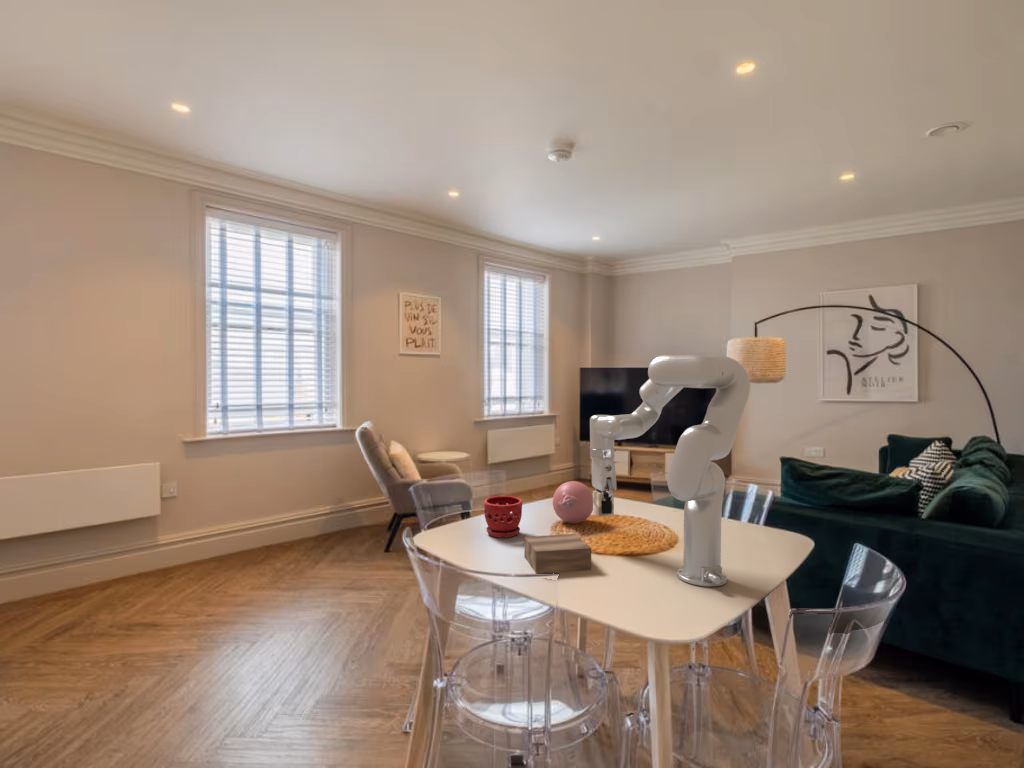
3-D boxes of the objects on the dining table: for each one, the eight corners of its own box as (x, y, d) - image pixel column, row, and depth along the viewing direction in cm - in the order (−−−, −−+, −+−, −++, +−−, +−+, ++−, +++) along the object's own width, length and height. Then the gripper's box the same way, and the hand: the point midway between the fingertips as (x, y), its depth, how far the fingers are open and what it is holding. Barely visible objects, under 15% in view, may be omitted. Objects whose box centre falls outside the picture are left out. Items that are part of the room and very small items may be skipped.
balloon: (540, 527, 192) (540, 485, 192) (561, 515, 209) (562, 476, 209) (580, 534, 185) (581, 489, 184) (599, 520, 202) (599, 480, 202)
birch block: (613, 515, 167) (613, 493, 167) (598, 516, 166) (598, 493, 166) (607, 511, 172) (607, 490, 172) (593, 512, 171) (592, 490, 171)
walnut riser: (591, 569, 150) (591, 548, 150) (535, 573, 147) (536, 551, 147) (575, 553, 164) (575, 533, 164) (524, 556, 161) (524, 536, 160)
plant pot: (478, 531, 187) (478, 497, 187) (512, 527, 192) (512, 494, 192) (492, 542, 175) (492, 505, 175) (528, 537, 180) (528, 501, 180)
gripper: (624, 456, 162) (625, 516, 162) (603, 450, 178) (604, 505, 178) (601, 457, 160) (602, 518, 160) (582, 451, 177) (583, 506, 177)
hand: (603, 510), depth 169 cm, fingers closed on birch block, 5 cm apart
